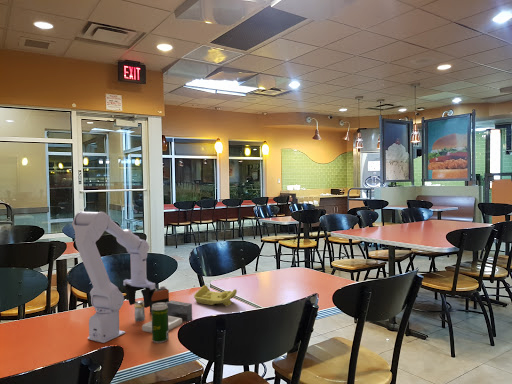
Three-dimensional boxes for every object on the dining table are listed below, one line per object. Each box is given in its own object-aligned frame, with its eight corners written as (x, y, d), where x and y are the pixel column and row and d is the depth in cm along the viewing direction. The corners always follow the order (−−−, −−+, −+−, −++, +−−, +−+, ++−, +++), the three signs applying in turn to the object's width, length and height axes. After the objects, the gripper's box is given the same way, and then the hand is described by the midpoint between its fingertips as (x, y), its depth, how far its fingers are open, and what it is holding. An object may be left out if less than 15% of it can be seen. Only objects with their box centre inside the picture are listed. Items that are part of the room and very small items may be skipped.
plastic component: (191, 297, 169) (206, 282, 175) (198, 310, 171) (212, 295, 178) (223, 302, 156) (237, 286, 163) (230, 316, 158) (244, 300, 165)
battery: (169, 311, 157) (169, 287, 156) (153, 315, 153) (152, 290, 152) (165, 308, 160) (164, 285, 160) (149, 312, 156) (148, 288, 156)
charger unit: (187, 321, 145) (186, 306, 145) (166, 317, 150) (166, 302, 149) (192, 318, 148) (192, 303, 148) (172, 315, 152) (171, 300, 152)
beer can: (169, 336, 132) (168, 301, 131) (167, 343, 126) (166, 306, 126) (153, 337, 131) (152, 302, 131) (150, 344, 126) (150, 307, 125)
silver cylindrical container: (139, 322, 145) (139, 303, 145) (132, 320, 147) (132, 302, 147) (146, 318, 149) (146, 301, 148) (139, 317, 150) (139, 299, 150)
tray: (161, 334, 133) (160, 329, 133) (142, 330, 137) (142, 325, 137) (182, 323, 143) (182, 318, 143) (164, 319, 147) (164, 314, 147)
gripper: (160, 270, 148) (161, 305, 148) (132, 266, 154) (133, 300, 155) (147, 274, 141) (148, 310, 142) (118, 270, 148) (119, 305, 148)
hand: (139, 305), depth 148 cm, fingers open, 7 cm apart
